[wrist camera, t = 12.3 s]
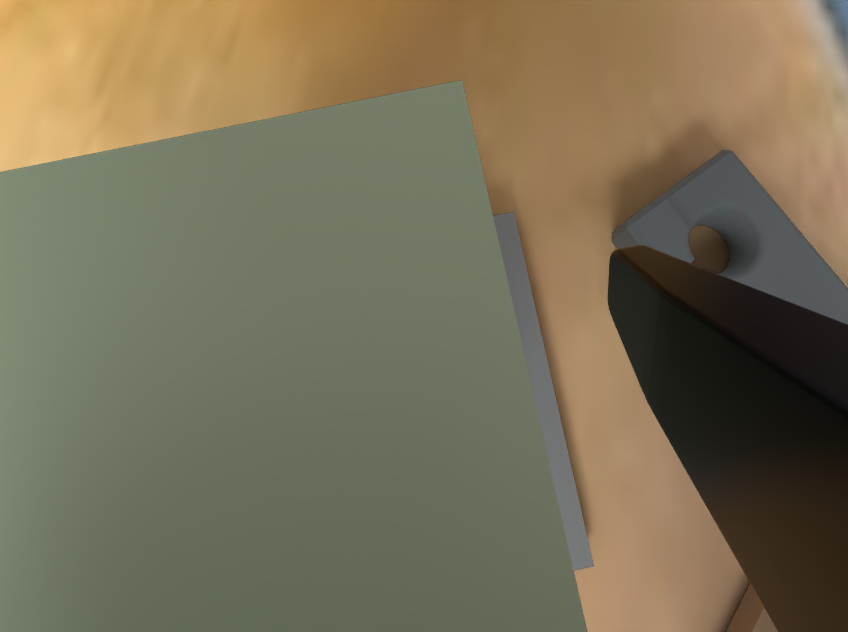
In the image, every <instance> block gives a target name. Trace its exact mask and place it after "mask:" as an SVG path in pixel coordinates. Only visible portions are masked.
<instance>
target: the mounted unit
mask: <svg viewBox="0 0 848 632" xmlns="http://www.w3.org/2000/svg"><path fill="white" fill-rule="evenodd" d="M726 632H778V631H777V629H776V628H775V626H774V624H773V622H772V621H771V619H770V617H769V615H768V614H767V612H766V610H765V608H764V607H763V605H762V603H761V601H760V600H759V598H758V596H757V594H756V592H755V591H754V589H753V587H752V585H751V584H750V585H749V587H748V589H747V591H746V593H745V595H744V597H743V599H742V601H741V603H740V605H739V607H738V609H737V610H736V612H735V614H734V616H733V618H732V620H731V622H730V624H729V626H728V628H727V630H726Z"/></svg>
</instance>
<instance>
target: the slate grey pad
mask: <svg viewBox="0 0 848 632" xmlns="http://www.w3.org/2000/svg"><path fill="white" fill-rule="evenodd" d="M493 218H494V222H495V227H496V231H497V236H498V240H499V245H500V249H501V253H502V258H503V262H504V267H505V271H506V275H507V280H508V284H509V289H510V293H511V297H512V302H513V306H514V311H515V315H516V319H517V324H518V328H519V333H520V337H521V341H522V346H523V350H524V355H525V359H526V363H527V368H528V372H529V377H530V381H531V385H532V390H533V394H534V399H535V403H536V407H537V412H538V416H539V421H540V425H541V430H542V434H543V438H544V443H545V447H546V452H547V456H548V460H549V465H550V469H551V474H552V478H553V482H554V487H555V491H556V496H557V500H558V504H559V509H560V513H561V518H562V522H563V526H564V531H565V535H566V540H567V544H568V548H569V553H570V557H571V562H572V566H573V570H579V569H583V568H588V567H593V566H594V565H593V560H592V556H591V551H590V547H589V542H588V538H587V534H586V529H585V525H584V520H583V516H582V511H581V507H580V503H579V498H578V494H577V489H576V485H575V480H574V476H573V472H572V467H571V463H570V458H569V454H568V449H567V445H566V441H565V436H564V432H563V427H562V423H561V418H560V414H559V410H558V405H557V401H556V396H555V392H554V387H553V383H552V379H551V374H550V370H549V365H548V361H547V356H546V352H545V348H544V343H543V339H542V334H541V330H540V325H539V321H538V317H537V312H536V308H535V303H534V299H533V294H532V290H531V286H530V281H529V277H528V272H527V268H526V263H525V259H524V255H523V250H522V246H521V241H520V237H519V232H518V228H517V224H516V219H515V215H514V212H510V213H505V214H500V215H495V216H493Z"/></svg>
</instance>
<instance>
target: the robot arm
mask: <svg viewBox="0 0 848 632" xmlns="http://www.w3.org/2000/svg"><path fill="white" fill-rule="evenodd" d="M608 305H609V310H610V313H611V316H612V319H613V321H614V323H615V326H616V328H617V331H618V333H619V335H620V338H621V340H622V343H623V345H624V348H625V350H626V352H627V355H628V357H629V360H630V362H631V364H632V367H633V369H634V372H635V374H636V376H637V379H638V381H639V384H640V386H641V388H642V391H643V393H644V395H645V397H646V400H647V402H648V404H649V405H650V407H651V409H652V411H653V413H654V415H655V417H656V418H657V420H658V422H659V424H660V425H661V427H662V429H663V431H664V433H665V434H666V436H667V438H668V440H669V441H670V443H671V445H672V447H673V448H674V450H675V452H676V454H677V455H678V457H679V459H680V461H681V462H682V464H683V466H684V468H685V469H686V471H687V473H688V475H689V476H690V478H691V480H692V482H693V483H694V485H695V487H696V489H697V491H698V492H699V494H700V496H701V498H702V499H703V501H704V503H705V505H706V506H707V508H708V510H709V512H710V513H711V515H712V517H713V519H714V520H715V522H716V524H717V526H718V527H719V529H720V531H721V533H722V534H723V536H724V538H725V540H726V542H727V543H728V545H729V547H730V549H731V550H732V552H733V554H734V556H735V557H736V559H737V561H738V563H739V564H740V566H741V568H742V570H743V571H744V573H745V575H746V577H747V578H748V580H749V582H750V584H751V585H752V587H753V589H754V591H755V592H756V594H757V596H758V598H759V600H760V601H761V603H762V605H763V607H764V608H765V610H766V612H767V614H768V615H769V617H770V619H771V621H772V622H773V624H774V626H775V628H776V629H777V631H778V632H848V324H846V323H843V322H841V321H838V320H835V319H833V318H830V317H828V316H825V315H823V314H820V313H817V312H815V311H812V310H810V309H807V308H805V307H802V306H799V305H797V304H794V303H792V302H789V301H787V300H784V299H781V298H779V297H776V296H774V295H771V294H769V293H766V292H763V291H761V290H758V289H756V288H753V287H751V286H748V285H745V284H743V283H740V282H738V281H735V280H733V279H730V278H727V277H725V276H722V275H720V274H717V273H715V272H712V271H709V270H707V269H704V268H702V267H699V266H697V265H694V264H691V263H689V262H686V261H684V260H681V259H679V258H676V257H673V256H671V255H668V254H666V253H663V252H661V251H658V250H656V249H653V248H650V247H648V246H645V245H634V246H629V247H625V248H620V249H616V250H614V251H613V252H612V254H611V257H610V264H609V283H608Z"/></svg>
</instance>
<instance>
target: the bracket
mask: <svg viewBox="0 0 848 632" xmlns="http://www.w3.org/2000/svg"><path fill="white" fill-rule="evenodd" d="M698 225H700V226H707V227H710V228H712V229H714V230H716V231H717V232H718V233H720V234H721V235H722V237H723V238H724V239H725V241H726V243H727V245H728V249H729V260H728V264H727V266H726V268H725V270H724V271H723V272H721V273H717V274H720V275H722V276H725V277H727V278H730V279H733V280H735V281H738V282H740V283H743V284H745V285H748V286H751V287H753V288H756V289H758V290H761V291H763V292H766V293H769V294H771V295H774V296H776V297H779V298H781V299H784V300H787V301H789V302H792V303H794V304H797V305H799V306H802V307H805V308H807V309H810V310H812V311H815V312H817V313H820V314H823V315H825V316H828V317H830V318H833V319H835V320H838V321H841V322H843V323H846V324H848V288H847V287H846V286H845V285H844V283H843V282H842V281H841V280H840V279H839V277H838V276H837V275H836V274H835V273H834V271H833V270H832V269H831V268H830V267H829V265H828V264H827V263H826V262H825V261H824V260H823V258H822V257H821V256H820V255H819V254H818V252H817V251H816V250H815V249H814V248H813V246H812V245H811V244H810V243H809V242H808V241H807V239H806V238H805V237H804V236H803V235H802V233H801V232H800V231H799V230H798V229H797V227H796V226H795V225H794V224H793V223H792V222H791V220H790V219H789V218H788V217H787V216H786V214H785V213H784V212H783V211H782V210H781V208H780V207H779V206H778V205H777V204H776V203H775V201H774V200H773V199H772V198H771V197H770V195H769V194H768V193H767V192H766V191H765V189H764V188H763V187H762V186H761V185H760V184H759V182H758V181H757V180H756V179H755V178H754V176H753V175H752V174H751V173H750V172H749V170H748V169H747V168H746V167H745V166H744V165H743V163H742V162H741V161H740V160H739V159H738V157H737V156H736V155H735V154H734V153H733V151H728V150H722V151H721V152H719V153H718V154H717V155H715V156H714V157H713V158H711V159H710V160H709V161H707V162H706V163H704V164H703V165H702V166H700V167H699V168H698V169H696V170H695V171H693V172H692V173H691V174H689V175H688V176H687V177H685V178H684V179H683V180H681V181H680V182H679V183H677V184H676V185H675V186H673V187H672V188H671V189H669V190H668V191H666V192H665V193H664V194H662V195H661V196H659V197H658V198H657V199H655V200H654V201H652V202H651V203H650V204H648V205H647V206H646V207H644V208H643V209H642V210H640V211H639V212H637V213H636V214H635V215H633V216H632V217H631V218H629V219H628V220H627V221H625V222H624V223H623V224H622V225H620V226H619V227H618V228H617V229H616V230H615V231H614V232H613V234H612V242H613V244H614V245H615V246H616V247H617V249H620V248H625V247H629V246H634V245H645V246H648V247H650V248H653V249H656V250H658V251H661V252H663V253H666V254H668V255H671V256H673V257H676V258H679V259H681V260H684V261H686V262H689V263H692V262H693V261H694V260H695V258H694V257H693V255H692V253H691V250H690V247H689V233H690V231H691V229H692V228H693V227H694V226H698Z"/></svg>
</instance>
